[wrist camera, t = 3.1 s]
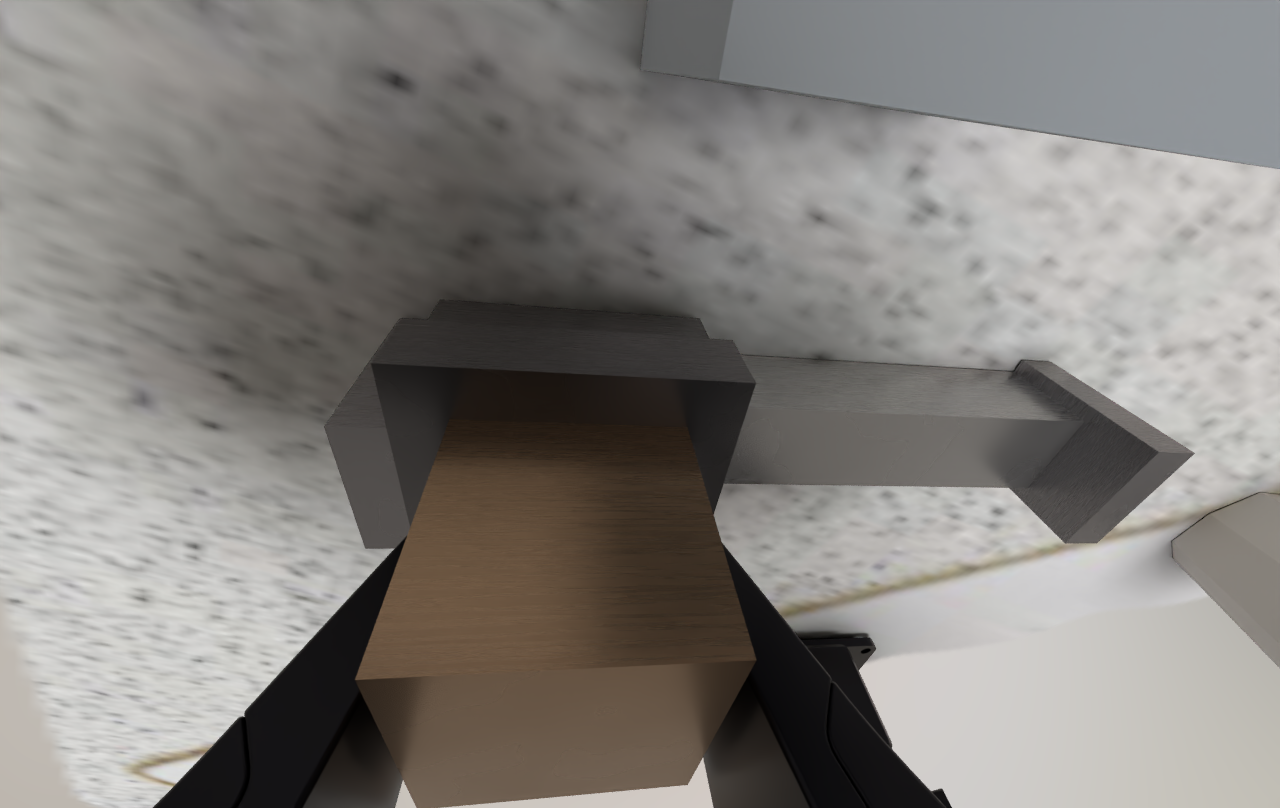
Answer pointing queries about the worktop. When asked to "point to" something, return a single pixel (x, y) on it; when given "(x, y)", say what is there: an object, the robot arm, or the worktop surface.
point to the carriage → (556, 552)
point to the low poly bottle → (1240, 565)
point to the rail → (872, 440)
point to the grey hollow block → (1005, 63)
